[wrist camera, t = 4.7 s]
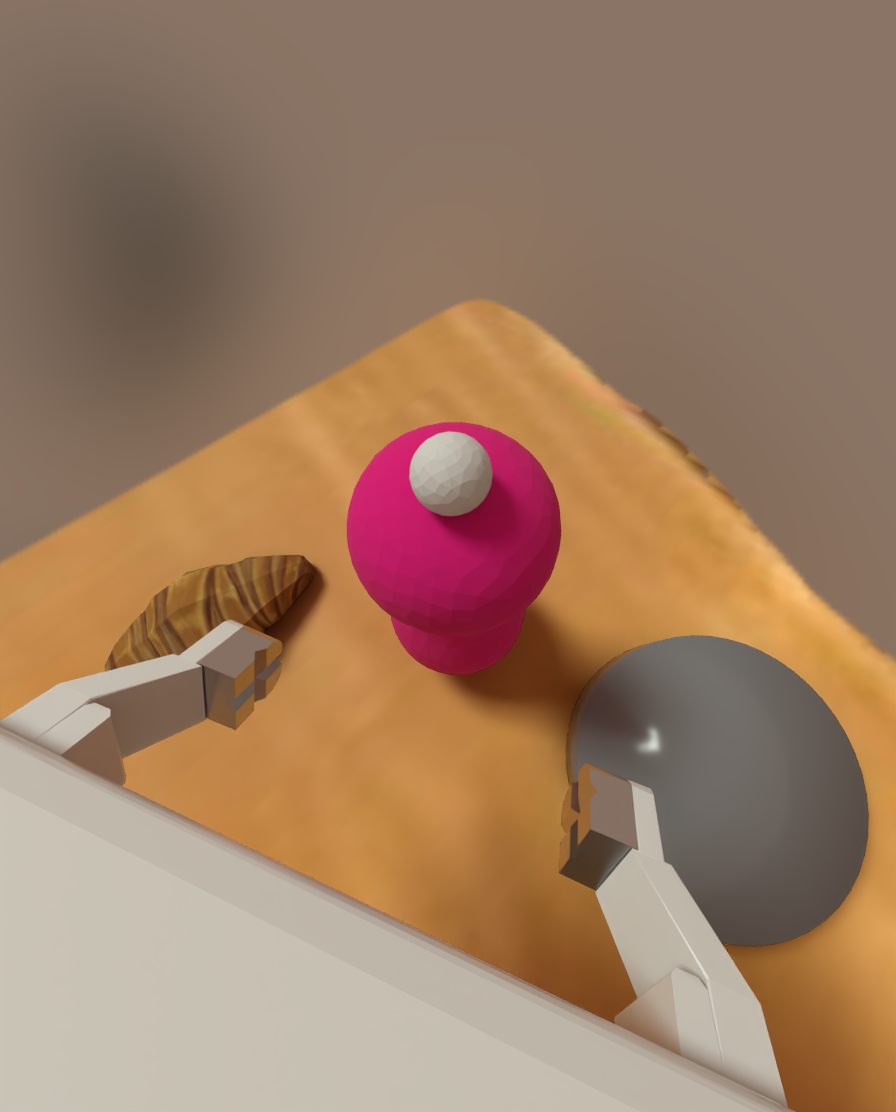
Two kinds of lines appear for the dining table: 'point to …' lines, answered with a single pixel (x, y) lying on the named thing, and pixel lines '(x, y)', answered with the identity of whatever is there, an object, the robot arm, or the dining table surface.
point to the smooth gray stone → (732, 780)
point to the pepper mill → (454, 541)
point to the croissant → (212, 605)
